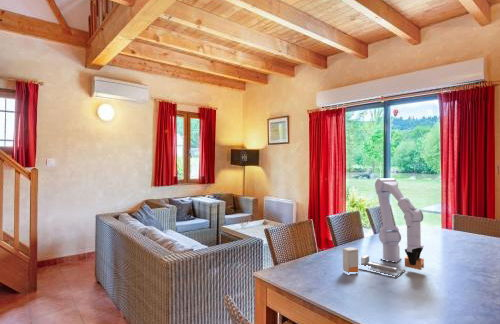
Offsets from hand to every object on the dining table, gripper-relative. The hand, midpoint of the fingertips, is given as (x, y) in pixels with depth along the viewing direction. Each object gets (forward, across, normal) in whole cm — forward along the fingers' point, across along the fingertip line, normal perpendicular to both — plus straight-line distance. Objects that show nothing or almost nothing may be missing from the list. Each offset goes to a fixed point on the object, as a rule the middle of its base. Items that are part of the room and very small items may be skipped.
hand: (414, 263), depth 143 cm
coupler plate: (+4, -7, +13) cm, 16 cm away
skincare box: (+5, -21, +22) cm, 31 cm away
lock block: (+2, 0, 0) cm, 2 cm away
